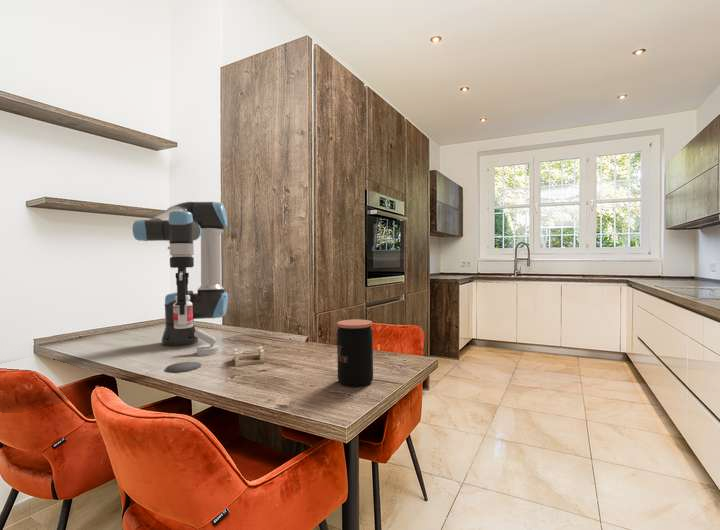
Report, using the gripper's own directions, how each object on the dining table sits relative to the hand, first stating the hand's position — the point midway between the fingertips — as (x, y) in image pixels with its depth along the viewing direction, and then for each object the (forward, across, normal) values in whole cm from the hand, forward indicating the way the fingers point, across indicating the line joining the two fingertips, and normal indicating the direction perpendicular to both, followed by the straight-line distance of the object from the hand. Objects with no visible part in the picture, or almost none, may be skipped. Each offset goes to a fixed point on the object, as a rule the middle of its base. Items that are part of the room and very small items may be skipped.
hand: (183, 322), depth 133 cm
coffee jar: (+16, +38, +50) cm, 65 cm away
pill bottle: (+2, 0, 0) cm, 2 cm away
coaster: (+16, 0, 0) cm, 16 cm away
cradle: (+16, 0, +22) cm, 27 cm away
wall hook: (+16, -20, +7) cm, 26 cm away
